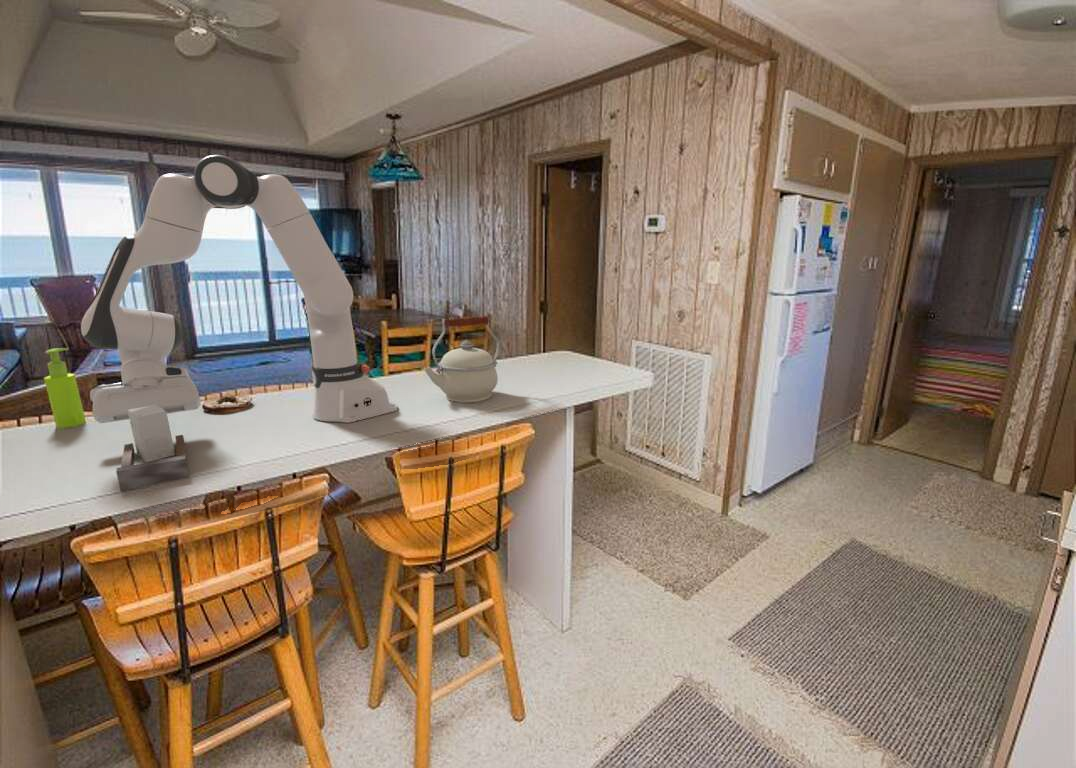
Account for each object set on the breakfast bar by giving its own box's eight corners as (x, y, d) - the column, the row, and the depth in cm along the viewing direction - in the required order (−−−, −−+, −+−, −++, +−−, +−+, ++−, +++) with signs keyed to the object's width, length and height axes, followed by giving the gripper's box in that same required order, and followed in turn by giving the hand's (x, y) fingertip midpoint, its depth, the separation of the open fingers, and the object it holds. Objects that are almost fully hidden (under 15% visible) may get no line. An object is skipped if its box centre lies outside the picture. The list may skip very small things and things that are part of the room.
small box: (175, 455, 115) (167, 411, 113) (145, 463, 111) (135, 417, 109) (166, 446, 121) (157, 403, 118) (136, 453, 117) (127, 409, 114)
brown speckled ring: (187, 411, 148) (185, 397, 147) (239, 398, 160) (237, 385, 159) (215, 420, 140) (213, 405, 139) (267, 406, 153) (266, 392, 152)
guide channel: (184, 442, 123) (181, 426, 122) (189, 476, 105) (185, 458, 104) (126, 452, 117) (122, 436, 116) (120, 490, 99) (116, 471, 98)
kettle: (486, 385, 175) (484, 311, 168) (513, 398, 160) (512, 318, 153) (415, 396, 162) (410, 316, 155) (437, 411, 147) (432, 324, 140)
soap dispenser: (93, 418, 140) (76, 346, 135) (76, 427, 133) (57, 351, 128) (69, 420, 139) (51, 346, 134) (50, 428, 132) (30, 352, 127)
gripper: (85, 379, 116) (90, 432, 111) (194, 367, 127) (203, 415, 122) (92, 393, 121) (97, 445, 115) (196, 381, 132) (204, 428, 127)
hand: (152, 430), depth 119 cm, fingers closed
